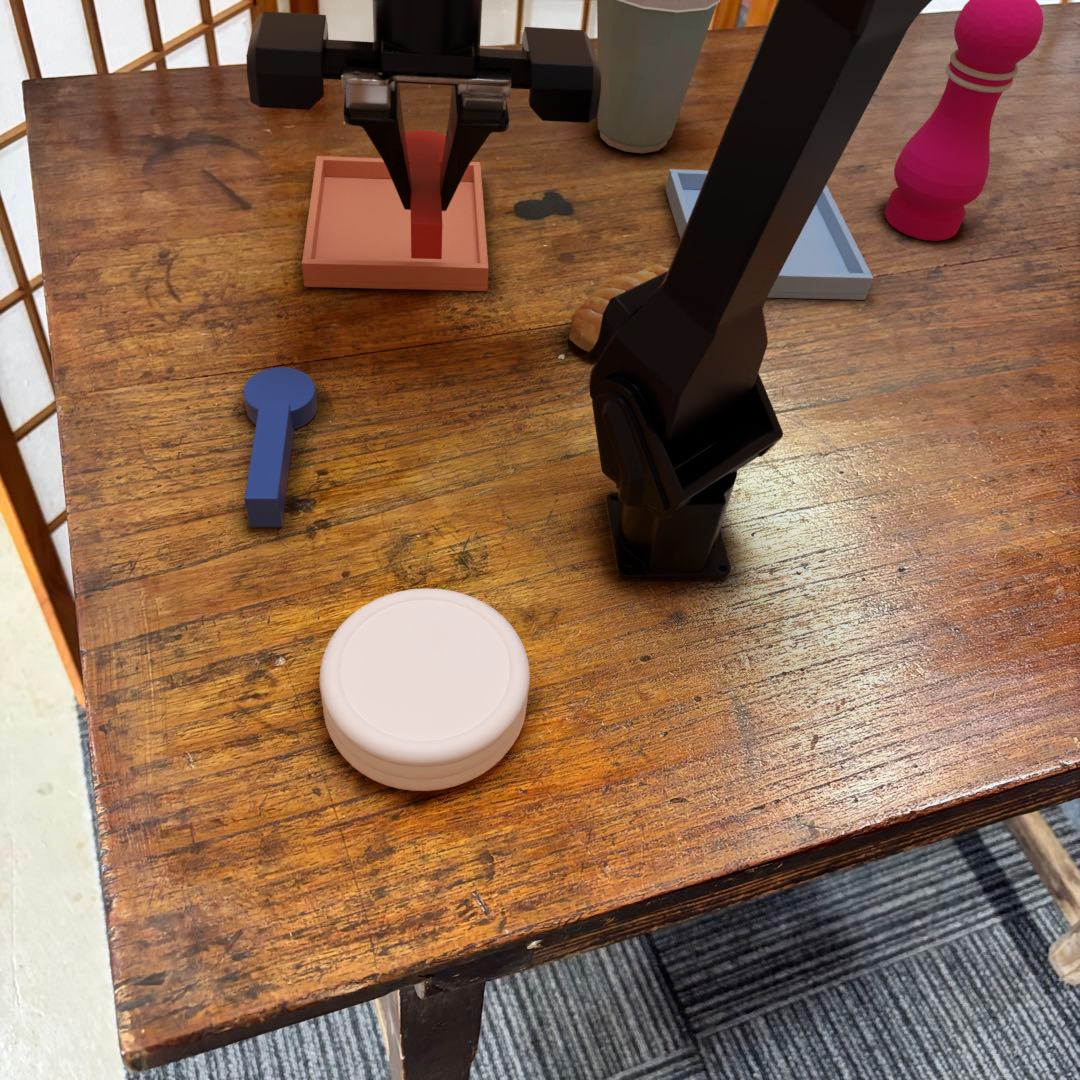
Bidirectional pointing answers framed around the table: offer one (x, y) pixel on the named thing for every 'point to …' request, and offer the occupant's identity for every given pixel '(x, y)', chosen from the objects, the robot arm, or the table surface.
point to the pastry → (604, 305)
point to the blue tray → (796, 246)
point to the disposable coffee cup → (646, 67)
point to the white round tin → (424, 688)
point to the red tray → (388, 232)
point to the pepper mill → (962, 119)
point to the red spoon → (425, 192)
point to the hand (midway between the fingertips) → (425, 206)
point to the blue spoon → (274, 438)
